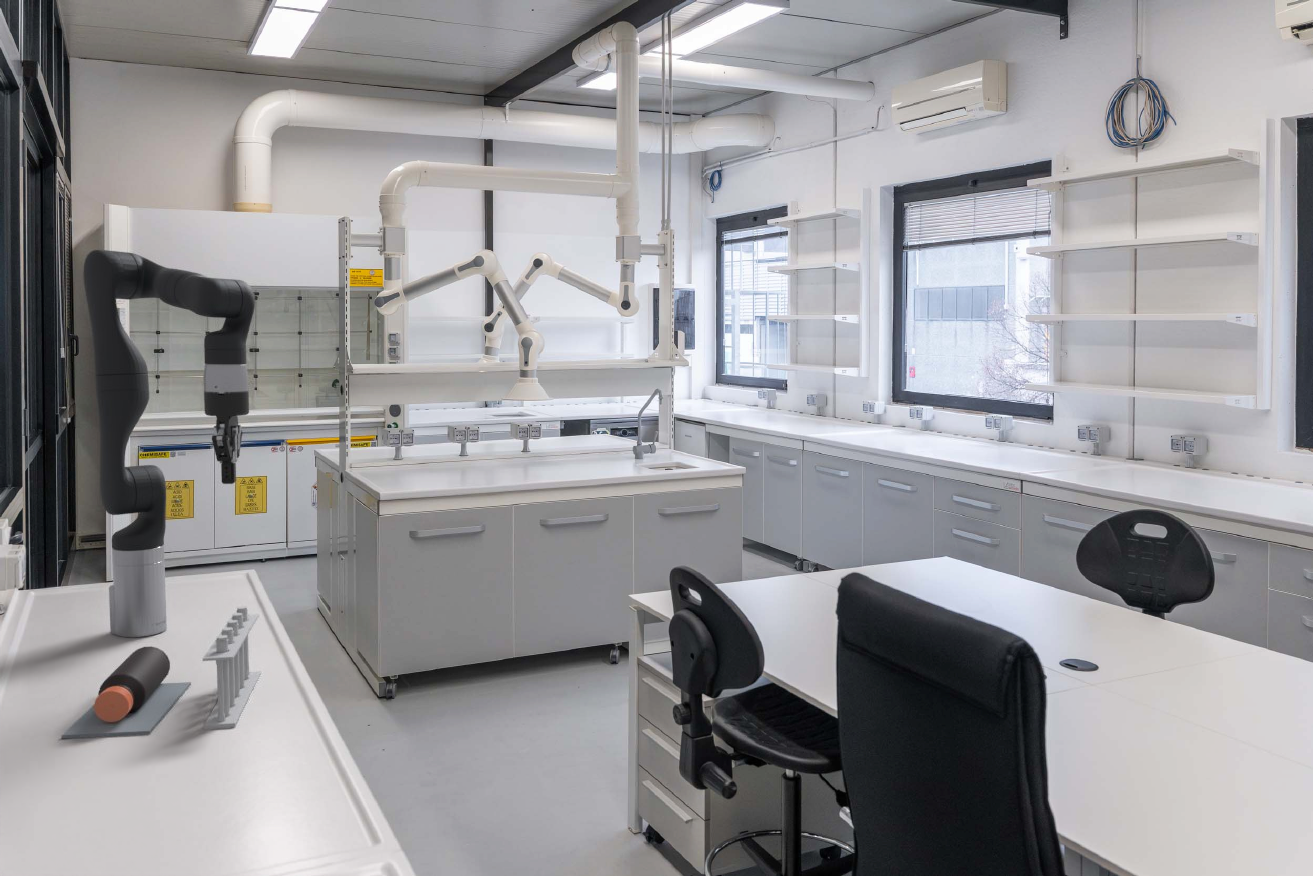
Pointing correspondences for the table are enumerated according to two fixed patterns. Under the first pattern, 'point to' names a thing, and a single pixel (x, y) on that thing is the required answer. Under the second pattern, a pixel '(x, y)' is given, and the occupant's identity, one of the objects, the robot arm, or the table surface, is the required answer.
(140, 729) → the slate mat
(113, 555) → the robot arm
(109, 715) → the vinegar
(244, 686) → the test tube rack
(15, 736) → the table surface
